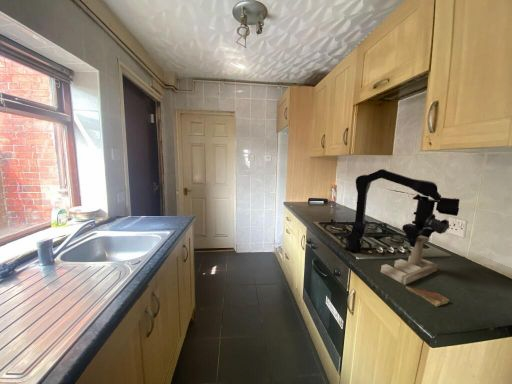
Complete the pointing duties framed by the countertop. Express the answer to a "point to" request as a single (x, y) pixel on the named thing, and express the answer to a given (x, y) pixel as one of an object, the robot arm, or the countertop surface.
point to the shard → (429, 296)
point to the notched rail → (408, 270)
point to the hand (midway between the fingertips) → (418, 245)
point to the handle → (418, 250)
